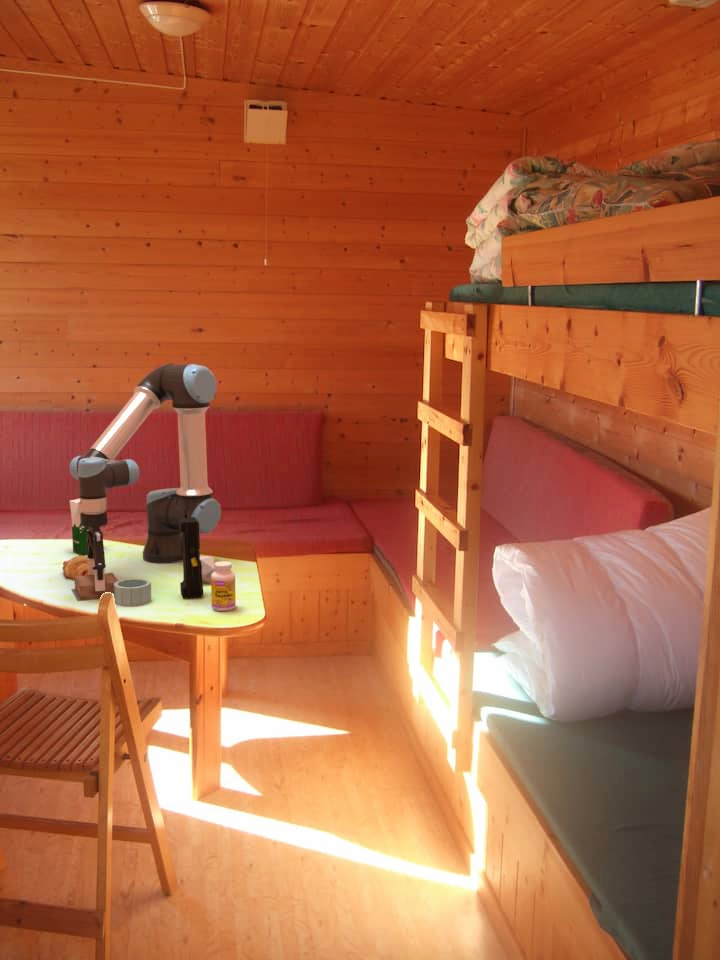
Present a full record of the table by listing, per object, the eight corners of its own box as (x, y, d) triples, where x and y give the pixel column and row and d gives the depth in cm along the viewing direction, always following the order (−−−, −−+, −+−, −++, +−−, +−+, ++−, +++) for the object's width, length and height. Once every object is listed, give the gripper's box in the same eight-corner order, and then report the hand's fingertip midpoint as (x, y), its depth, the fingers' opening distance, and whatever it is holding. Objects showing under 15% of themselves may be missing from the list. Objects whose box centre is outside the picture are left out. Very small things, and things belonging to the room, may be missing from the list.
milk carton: (105, 552, 334) (103, 494, 330) (80, 556, 328) (78, 498, 324) (93, 547, 340) (90, 490, 337) (68, 551, 334) (66, 494, 331)
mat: (115, 585, 295) (115, 584, 295) (123, 597, 283) (123, 596, 283) (71, 590, 289) (71, 589, 289) (77, 602, 278) (77, 601, 278)
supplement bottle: (211, 612, 269) (210, 567, 267) (211, 605, 276) (210, 560, 274) (236, 611, 270) (235, 566, 268) (235, 604, 277) (234, 560, 275)
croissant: (107, 593, 299) (117, 568, 300) (79, 584, 292) (90, 559, 293) (73, 577, 314) (83, 554, 315) (46, 568, 307) (56, 545, 308)
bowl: (146, 594, 285) (146, 576, 284) (154, 604, 276) (153, 585, 275) (111, 598, 281) (111, 580, 280) (118, 608, 272) (117, 589, 271)
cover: (112, 585, 293) (112, 572, 293) (119, 595, 283) (119, 582, 283) (75, 589, 289) (74, 576, 288) (80, 599, 279) (80, 586, 278)
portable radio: (204, 598, 282) (202, 513, 277) (183, 600, 280) (181, 514, 276) (201, 591, 289) (199, 508, 285) (180, 592, 287) (178, 509, 283)
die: (201, 589, 293) (220, 562, 294) (179, 573, 295) (198, 547, 296) (209, 591, 301) (227, 565, 302) (187, 575, 303) (205, 550, 304)
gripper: (74, 505, 291) (77, 576, 295) (86, 520, 270) (90, 597, 274) (99, 503, 294) (103, 573, 298) (114, 518, 273) (117, 594, 277)
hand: (96, 585), depth 286 cm, fingers closed on cover, 11 cm apart
